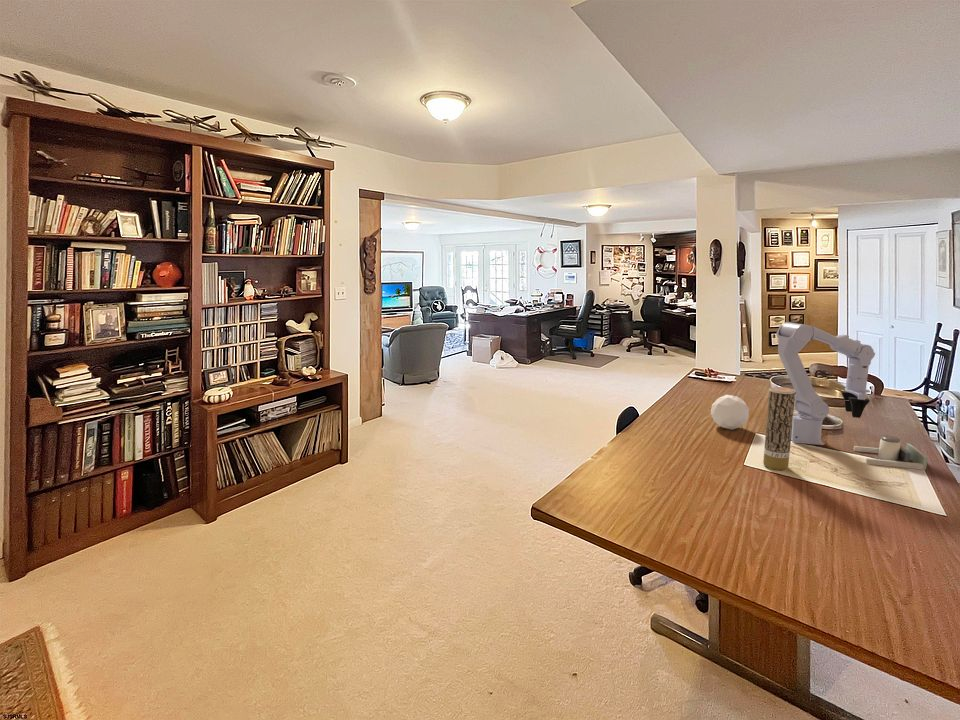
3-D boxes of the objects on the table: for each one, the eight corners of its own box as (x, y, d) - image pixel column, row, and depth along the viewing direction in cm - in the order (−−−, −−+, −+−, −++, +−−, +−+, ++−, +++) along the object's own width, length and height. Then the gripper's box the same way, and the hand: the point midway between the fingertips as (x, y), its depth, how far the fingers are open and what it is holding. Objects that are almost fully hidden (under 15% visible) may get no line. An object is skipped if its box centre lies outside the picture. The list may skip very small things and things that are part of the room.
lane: (866, 463, 154) (868, 451, 153) (853, 450, 165) (854, 438, 165) (925, 469, 148) (927, 457, 148) (908, 455, 160) (909, 443, 159)
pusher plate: (904, 465, 151) (906, 452, 150) (891, 453, 160) (893, 442, 160) (908, 465, 151) (910, 453, 150) (895, 454, 160) (896, 442, 159)
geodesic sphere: (698, 407, 200) (711, 386, 190) (729, 405, 201) (744, 384, 191) (713, 436, 190) (727, 416, 180) (745, 434, 192) (762, 414, 182)
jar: (881, 461, 155) (884, 439, 154) (875, 455, 160) (878, 434, 159) (900, 463, 154) (903, 441, 152) (894, 457, 158) (897, 436, 157)
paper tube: (758, 463, 156) (764, 387, 152) (778, 461, 157) (784, 386, 152) (772, 471, 149) (779, 392, 145) (793, 470, 150) (800, 391, 146)
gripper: (878, 382, 163) (873, 421, 166) (863, 373, 177) (859, 409, 179) (853, 381, 166) (848, 419, 168) (840, 372, 179) (836, 408, 182)
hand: (852, 414), depth 174 cm, fingers open, 7 cm apart
